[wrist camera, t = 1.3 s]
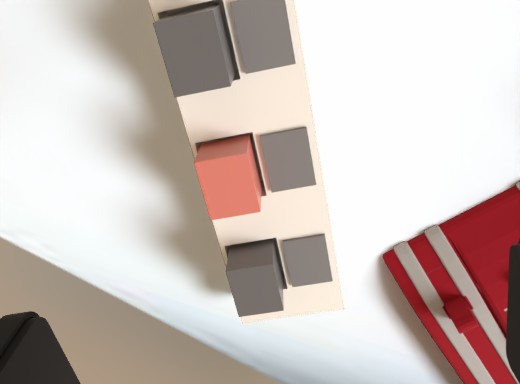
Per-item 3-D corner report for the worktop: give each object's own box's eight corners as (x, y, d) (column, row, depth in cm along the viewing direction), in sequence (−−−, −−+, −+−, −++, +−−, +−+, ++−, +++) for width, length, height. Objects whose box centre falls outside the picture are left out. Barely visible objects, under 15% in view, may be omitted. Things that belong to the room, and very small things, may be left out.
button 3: (229, 245, 34) (225, 271, 31) (272, 237, 33) (272, 264, 31) (241, 288, 36) (238, 317, 33) (282, 282, 35) (283, 310, 32)
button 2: (201, 143, 30) (193, 162, 27) (249, 134, 30) (246, 153, 27) (216, 197, 32) (210, 220, 29) (261, 189, 32) (260, 211, 29)
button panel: (119, -157, 26) (96, -175, 22) (260, -195, 25) (258, -220, 21) (244, 294, 40) (242, 326, 36) (338, 280, 39) (344, 311, 35)
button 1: (165, 16, 27) (153, 22, 24) (219, 4, 26) (212, 9, 24) (184, 83, 29) (174, 97, 26) (235, 73, 28) (230, 86, 25)
